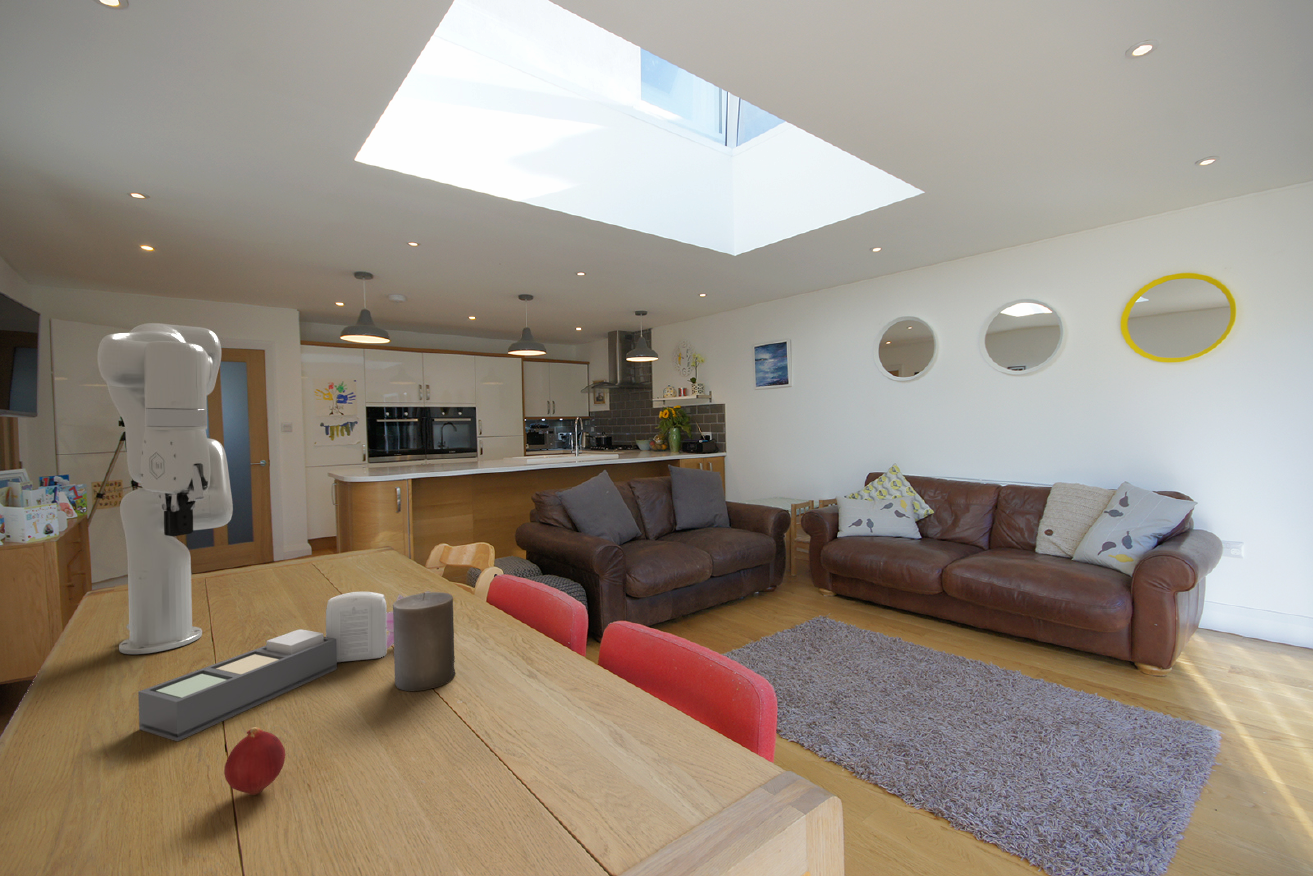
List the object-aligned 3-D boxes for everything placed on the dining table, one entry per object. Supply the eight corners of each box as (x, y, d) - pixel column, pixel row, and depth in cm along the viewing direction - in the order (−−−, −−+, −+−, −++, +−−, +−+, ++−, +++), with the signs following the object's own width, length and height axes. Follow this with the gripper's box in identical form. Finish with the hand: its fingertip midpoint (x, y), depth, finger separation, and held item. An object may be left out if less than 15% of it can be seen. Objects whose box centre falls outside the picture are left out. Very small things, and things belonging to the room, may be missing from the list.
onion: (246, 779, 70) (245, 715, 70) (295, 776, 70) (294, 713, 70) (213, 811, 64) (211, 741, 64) (267, 808, 64) (265, 738, 64)
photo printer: (389, 650, 110) (388, 587, 110) (385, 659, 106) (384, 593, 106) (329, 656, 107) (328, 591, 107) (323, 666, 103) (321, 598, 103)
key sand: (216, 693, 90) (215, 668, 90) (255, 677, 95) (254, 654, 95) (241, 700, 88) (241, 674, 87) (279, 683, 93) (279, 659, 93)
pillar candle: (467, 672, 100) (465, 587, 100) (423, 696, 91) (421, 603, 91) (426, 664, 104) (424, 582, 104) (380, 686, 95) (378, 596, 95)
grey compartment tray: (139, 729, 82) (138, 691, 81) (302, 662, 105) (301, 632, 104) (177, 741, 78) (176, 702, 78) (336, 669, 101) (336, 638, 101)
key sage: (156, 718, 82) (155, 690, 82) (202, 699, 88) (201, 673, 88) (182, 725, 80) (181, 697, 80) (227, 706, 86) (227, 679, 86)
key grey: (266, 664, 97) (266, 640, 97) (300, 651, 103) (299, 629, 103) (291, 669, 95) (290, 645, 95) (323, 655, 101) (323, 633, 100)
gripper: (119, 419, 89) (122, 534, 90) (179, 422, 84) (181, 544, 85) (174, 418, 96) (176, 525, 97) (232, 421, 91) (234, 534, 92)
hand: (178, 534), depth 91 cm, fingers closed
